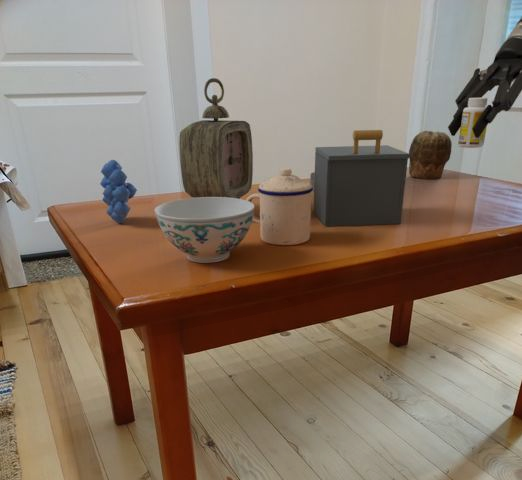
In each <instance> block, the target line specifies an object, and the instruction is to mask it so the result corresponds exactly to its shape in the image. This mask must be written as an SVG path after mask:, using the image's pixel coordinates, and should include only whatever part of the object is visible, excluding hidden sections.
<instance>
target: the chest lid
mask: <svg viewBox="0 0 522 480" xmlns="http://www.w3.org/2000/svg"><path fill="white" fill-rule="evenodd" d="M383 135H384V132H383V129H369V130H368V129H366V130H364V129H363V130H353V132H352V140H353V145H347V146H345V145H343V146H316V147H315V148H314V149H315V151H314V152H317V153H319V154H320V155H322V156H323V157H324V158H326V159H327V160H329V161H333V160H369V159H404V158H408V159H409V158H410V154H409V152H408V151H407V152H406V151H403V150H401V149H399V148H395V147H393V146H390V145H387V144H385V145H384V144H383V145H382V144H381V143H382V142H381V141H382V139H383V137H384V136H383ZM359 141H375V144H374V145H359Z"/></svg>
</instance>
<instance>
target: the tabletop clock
mask: <svg viewBox="0 0 522 480" xmlns="http://www.w3.org/2000/svg"><path fill="white" fill-rule="evenodd" d="M212 83H217V84H218V85H219V87H220V89H221V94H220V97H218V95H217V94H213V95H212V96H211V98H210V97H209V96H208V88H209V86H210V84H212ZM203 92H204V97H205V100H206V101H207V102H208V103H209V104H211V105H209V106H207V107H206V108H205V109H204V110H203V113H202V116H201V120H199V121H195V122H191V123H190V124H188V125H187V126H185V127H184V128H183V129H181V131H180V132H179V138H178V142H179V143H178V146H179V164H180V173H181V182H182V185H183V189H184V192H185V193H186V194H187V195H188V196H190V198H197V197H228V198H237V199H241V198H242V197H244V196H246V195H248V193H249V192H250V191H251V189H252V184H253V176H254V175H253V173H254V172H253V171H254V169H253V168H254V154H253V153H254V152H253V137H252V130H251V124H250V123H249V122H248V121H246V120H219V119H227V118H228V119H229V118H230V115H229V112H228V110H227V108H226V107H224V106H222V105H219V103H220V102H222V101H223V99H224V96H225V88H224V85H223V82H222V81H221V80H220V79H218V78H216V77H212V78H209V79H207V81H206V82H205V85H204V91H203ZM204 119H205V120H204ZM206 119H207V120H206Z"/></svg>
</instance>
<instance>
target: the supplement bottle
mask: <svg viewBox="0 0 522 480" xmlns="http://www.w3.org/2000/svg"><path fill="white" fill-rule="evenodd" d="M488 99H489V98H488V97H482V98H469V100H468V107H466V108H464V110H463V115H462V122H461V127H460V128H459V135H458V144H457V145H458V147H460V148H465V149H475V148H477V149H479V148H482V147H483V146H484V144H485V138H486V134H487V133H486V132H487V127H488V125H487V126H486V128H485V129H484V130H483V132H482V133H481V135H480V136H479V138H476V137H475V135H474V132H473V130H472V128H473V127H474V125H475V124H476V122H477V121H478V119H479V118H480V116H481V115H482V113H483V112H484V110H485V109H486V107H487V106H488Z"/></svg>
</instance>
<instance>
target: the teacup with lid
mask: <svg viewBox="0 0 522 480" xmlns="http://www.w3.org/2000/svg"><path fill="white" fill-rule="evenodd" d="M278 171H279V174H277V175H274V176H272V177H271V178H270V179H269V180H267V181H263V182H261V183H260V184H259V186H258V188H257V191H258V193H257V192H256V193H253V194H250V195H249V196H248V197H247V198H246V200H247V201H249V202H251V203H252V201H253V200H254V199H259V217H258V216H257V215H256V214H254V215H253V220H252V222H254V223H257V224H259V233H260V234H259V235H260V239H261V241H262V242H263V243H266V244H270V245H275V246H295V245H300V244H305V243H306V242H308V241H309V240H310V239H311V216H312V214H311V213H312V192H313V191H312V190H313V188H312V185H311V184H310V181H306V180H303V179H302V178H300V177H299V176H297V175H295V174H292V173H293V171H292V169H291V168H289V167H282V168H280V169H279V170H278Z"/></svg>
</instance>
